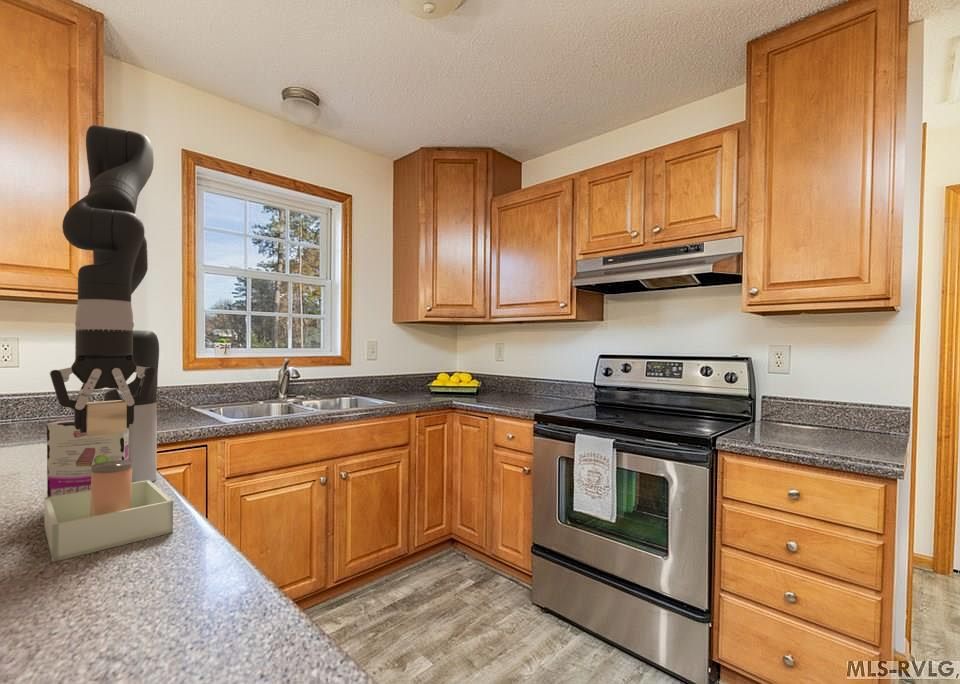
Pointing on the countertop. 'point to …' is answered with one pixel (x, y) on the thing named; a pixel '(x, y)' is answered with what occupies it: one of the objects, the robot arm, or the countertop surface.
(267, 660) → the countertop surface
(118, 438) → the candy bar box
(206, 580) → the countertop surface
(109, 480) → the spice jar
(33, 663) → the countertop surface
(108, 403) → the maple block
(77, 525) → the tote
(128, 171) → the robot arm
